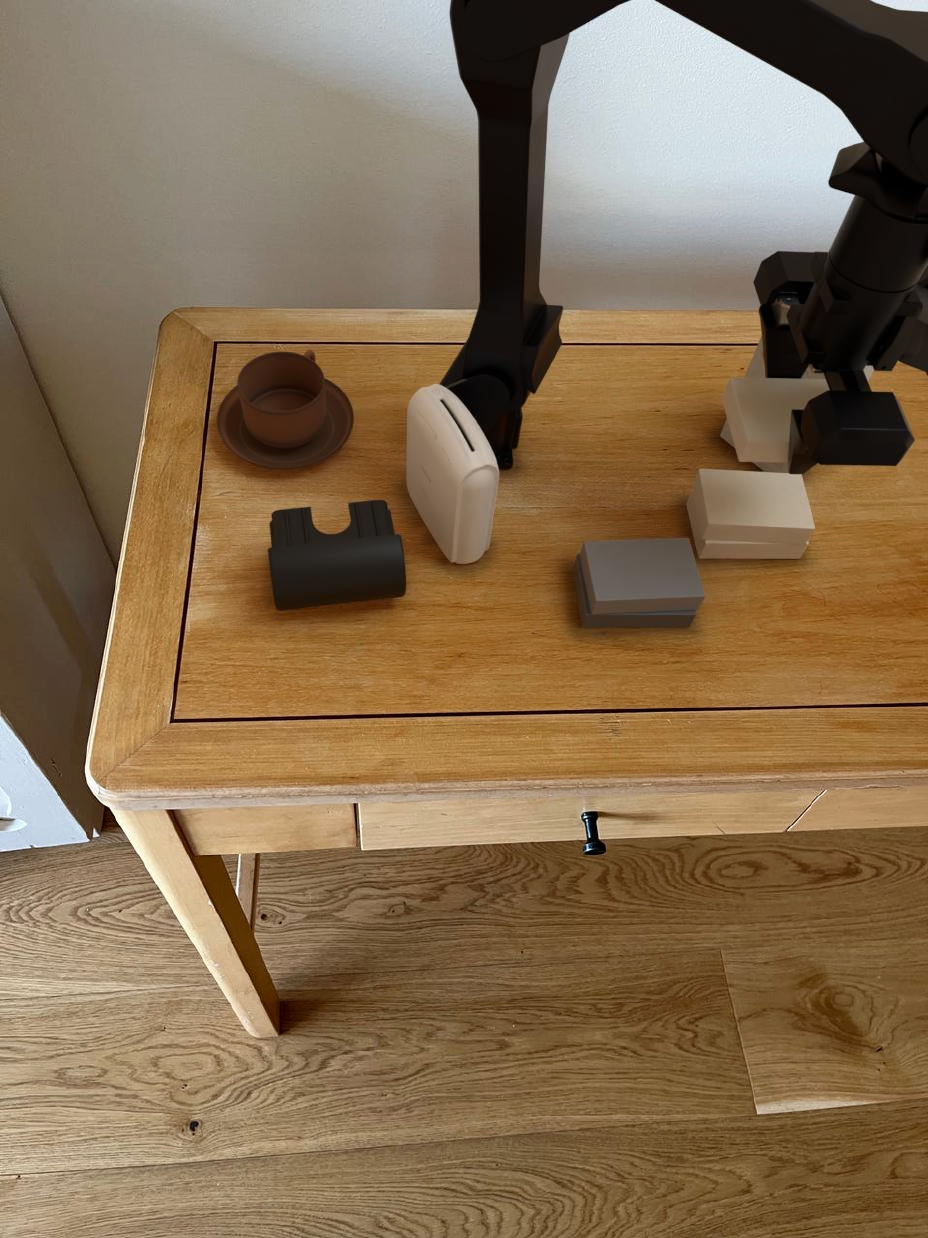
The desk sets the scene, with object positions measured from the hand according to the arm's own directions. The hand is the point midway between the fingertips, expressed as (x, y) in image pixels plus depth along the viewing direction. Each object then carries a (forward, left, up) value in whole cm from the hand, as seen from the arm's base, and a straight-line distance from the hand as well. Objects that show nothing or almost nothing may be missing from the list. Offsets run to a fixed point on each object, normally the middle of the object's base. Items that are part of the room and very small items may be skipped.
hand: (784, 438), depth 71 cm
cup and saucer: (-39, +11, -12) cm, 43 cm away
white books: (+1, 0, -12) cm, 12 cm away
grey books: (-10, -7, -12) cm, 17 cm away
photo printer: (-25, +1, -12) cm, 28 cm away
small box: (+6, +10, -12) cm, 17 cm away
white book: (0, 0, +1) cm, 1 cm away
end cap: (-34, -6, -12) cm, 37 cm away
